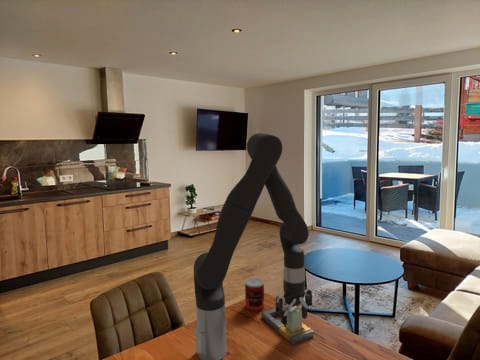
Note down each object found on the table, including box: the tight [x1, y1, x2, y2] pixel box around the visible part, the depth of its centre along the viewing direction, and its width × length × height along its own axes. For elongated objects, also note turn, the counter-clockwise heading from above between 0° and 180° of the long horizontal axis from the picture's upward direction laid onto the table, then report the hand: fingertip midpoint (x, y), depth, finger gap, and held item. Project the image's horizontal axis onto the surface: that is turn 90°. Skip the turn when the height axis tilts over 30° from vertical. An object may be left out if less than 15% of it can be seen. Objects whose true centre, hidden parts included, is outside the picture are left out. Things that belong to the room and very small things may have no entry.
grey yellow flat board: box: [261, 307, 314, 345], centre depth 126 cm, size 9×20×2 cm, turn 27°
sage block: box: [286, 305, 303, 333], centre depth 121 cm, size 4×4×9 cm
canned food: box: [244, 277, 265, 313], centre depth 140 cm, size 8×8×11 cm
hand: (294, 321), depth 121 cm, fingers open, 8 cm apart
